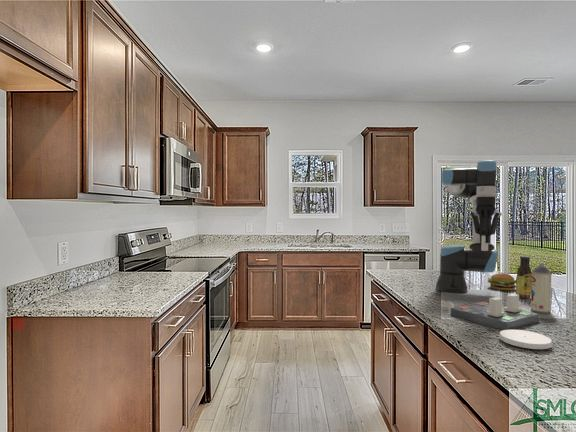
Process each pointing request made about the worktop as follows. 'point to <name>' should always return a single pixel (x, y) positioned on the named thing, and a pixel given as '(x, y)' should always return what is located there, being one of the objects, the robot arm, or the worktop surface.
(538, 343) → the plastic lid
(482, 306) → the breaker box
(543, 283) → the aerosol can
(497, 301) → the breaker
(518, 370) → the worktop surface
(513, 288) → the food
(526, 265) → the sauce bottle
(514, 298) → the lever
